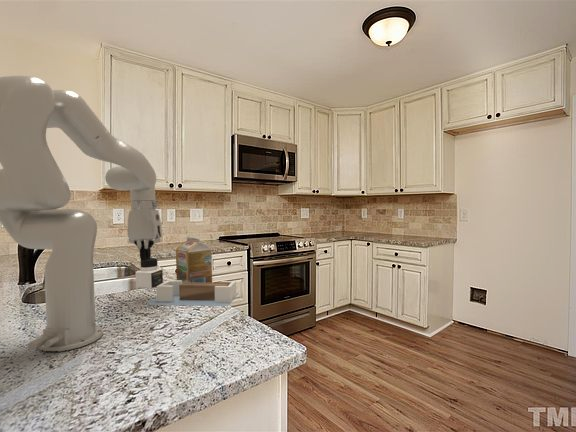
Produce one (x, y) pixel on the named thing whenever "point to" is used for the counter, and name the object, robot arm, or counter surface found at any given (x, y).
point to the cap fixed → (225, 292)
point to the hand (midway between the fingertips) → (145, 259)
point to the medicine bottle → (149, 274)
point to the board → (190, 302)
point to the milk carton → (194, 262)
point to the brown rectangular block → (198, 290)
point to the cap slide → (168, 290)
